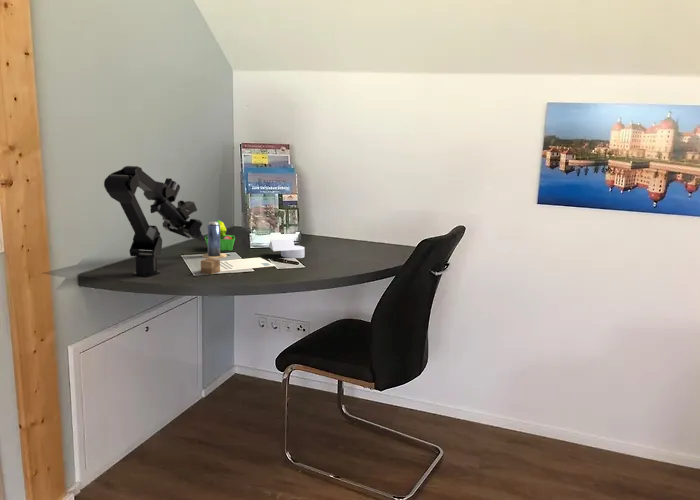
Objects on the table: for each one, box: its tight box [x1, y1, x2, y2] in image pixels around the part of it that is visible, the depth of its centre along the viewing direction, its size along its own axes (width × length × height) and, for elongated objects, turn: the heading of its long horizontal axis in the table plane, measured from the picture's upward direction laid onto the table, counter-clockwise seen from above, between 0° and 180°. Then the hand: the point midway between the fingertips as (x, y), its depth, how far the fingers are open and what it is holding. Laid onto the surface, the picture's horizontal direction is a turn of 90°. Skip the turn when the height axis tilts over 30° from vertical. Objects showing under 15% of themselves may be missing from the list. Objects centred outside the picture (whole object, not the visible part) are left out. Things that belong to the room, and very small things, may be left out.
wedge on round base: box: [268, 238, 306, 259], centre depth 239 cm, size 9×7×13 cm
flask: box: [206, 221, 221, 257], centre depth 234 cm, size 5×5×12 cm
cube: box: [200, 258, 221, 275], centre depth 211 cm, size 4×4×4 cm
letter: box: [220, 257, 277, 272], centre depth 224 cm, size 21×15×1 cm
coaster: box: [201, 252, 227, 260], centre depth 235 cm, size 9×9×1 cm
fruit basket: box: [204, 220, 236, 251], centre depth 247 cm, size 11×9×11 cm
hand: (196, 239), depth 228 cm, fingers open, 9 cm apart
